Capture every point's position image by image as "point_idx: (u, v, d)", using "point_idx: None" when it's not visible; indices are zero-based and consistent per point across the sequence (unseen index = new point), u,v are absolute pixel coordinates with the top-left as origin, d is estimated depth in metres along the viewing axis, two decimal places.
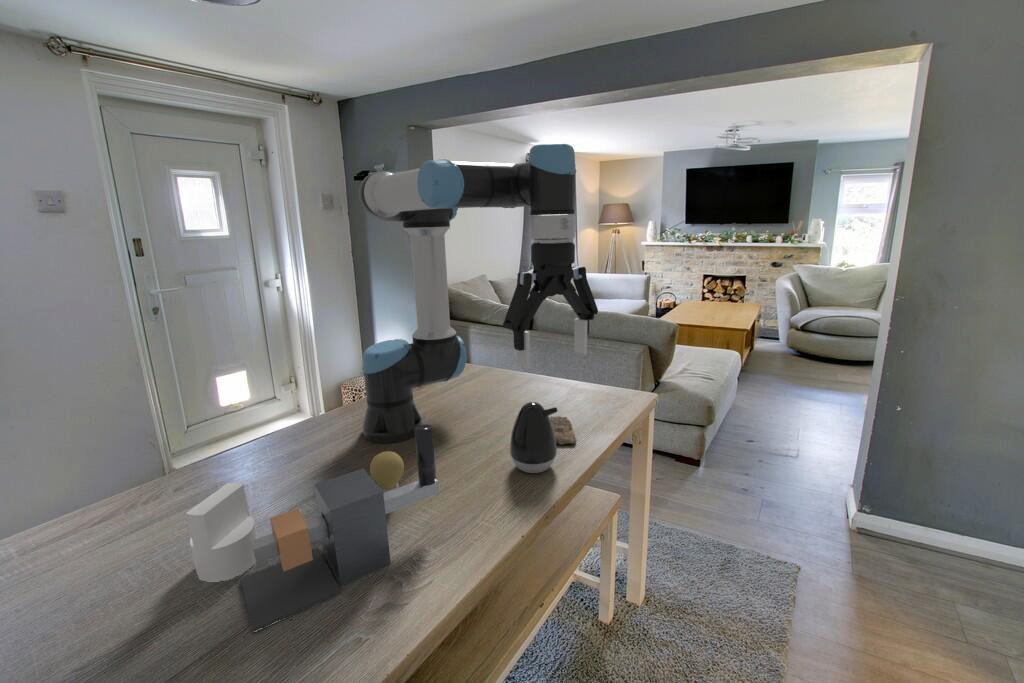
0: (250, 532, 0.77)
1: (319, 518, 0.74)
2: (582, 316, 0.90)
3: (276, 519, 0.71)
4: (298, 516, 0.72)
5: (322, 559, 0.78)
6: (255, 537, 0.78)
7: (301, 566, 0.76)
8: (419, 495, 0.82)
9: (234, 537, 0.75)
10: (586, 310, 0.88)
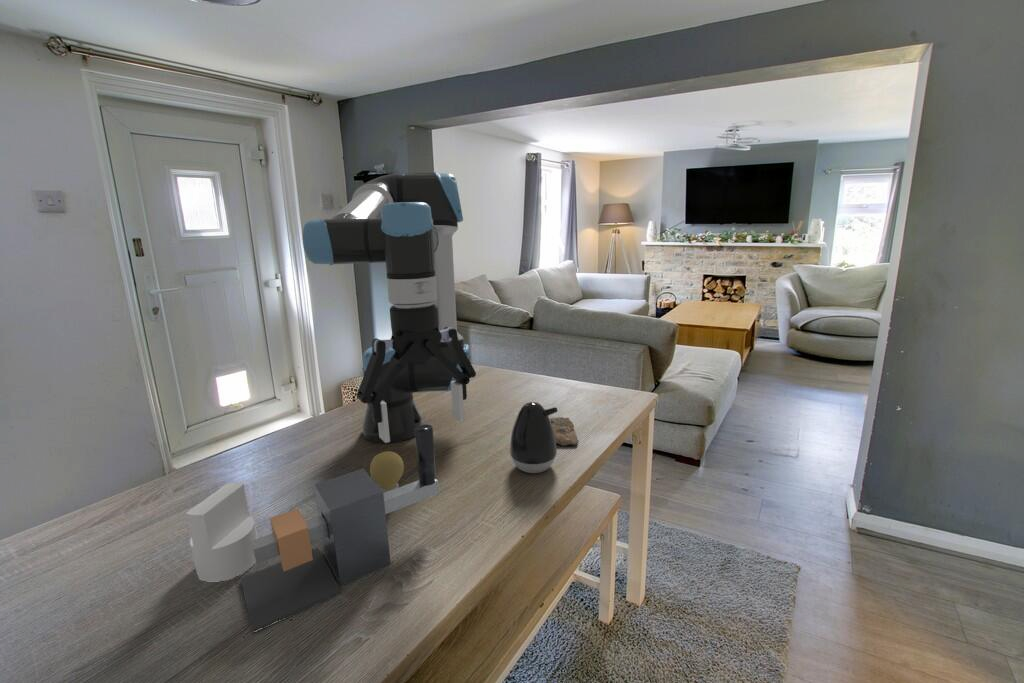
0: (250, 532, 0.77)
1: (319, 518, 0.74)
2: (458, 379, 0.83)
3: (276, 519, 0.71)
4: (298, 516, 0.72)
5: (322, 559, 0.78)
6: (255, 537, 0.78)
7: (301, 566, 0.76)
8: (419, 495, 0.82)
9: (234, 537, 0.75)
10: (460, 374, 0.82)
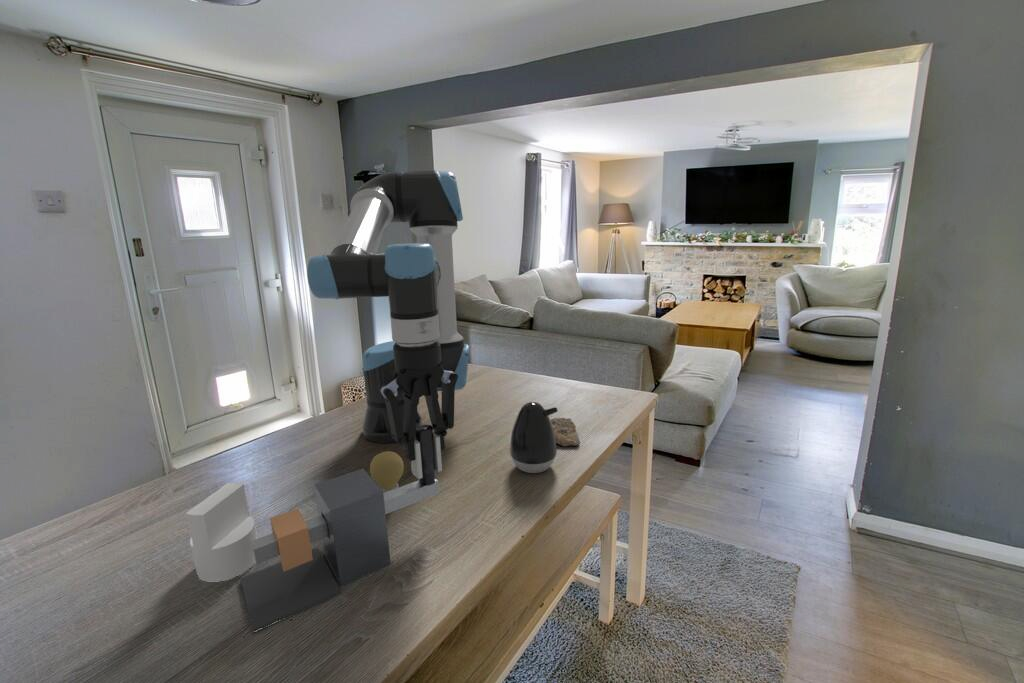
0: (250, 532, 0.77)
1: (319, 518, 0.74)
2: (435, 431, 0.83)
3: (276, 519, 0.71)
4: (298, 516, 0.72)
5: (322, 559, 0.78)
6: (255, 537, 0.78)
7: (301, 566, 0.76)
8: (419, 495, 0.82)
9: (234, 537, 0.75)
10: (441, 424, 0.82)
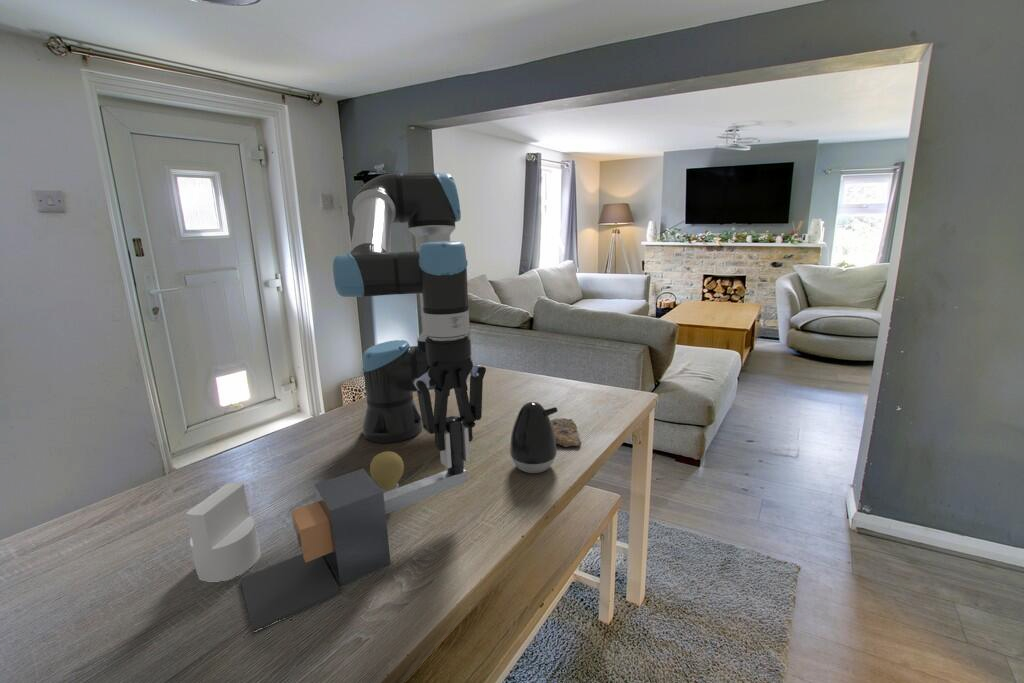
0: (250, 532, 0.77)
1: None
2: (464, 422, 0.86)
3: (297, 512, 0.73)
4: (319, 509, 0.74)
5: (322, 559, 0.78)
6: (255, 537, 0.78)
7: (301, 566, 0.76)
8: (448, 484, 0.85)
9: (234, 537, 0.75)
10: (470, 415, 0.85)
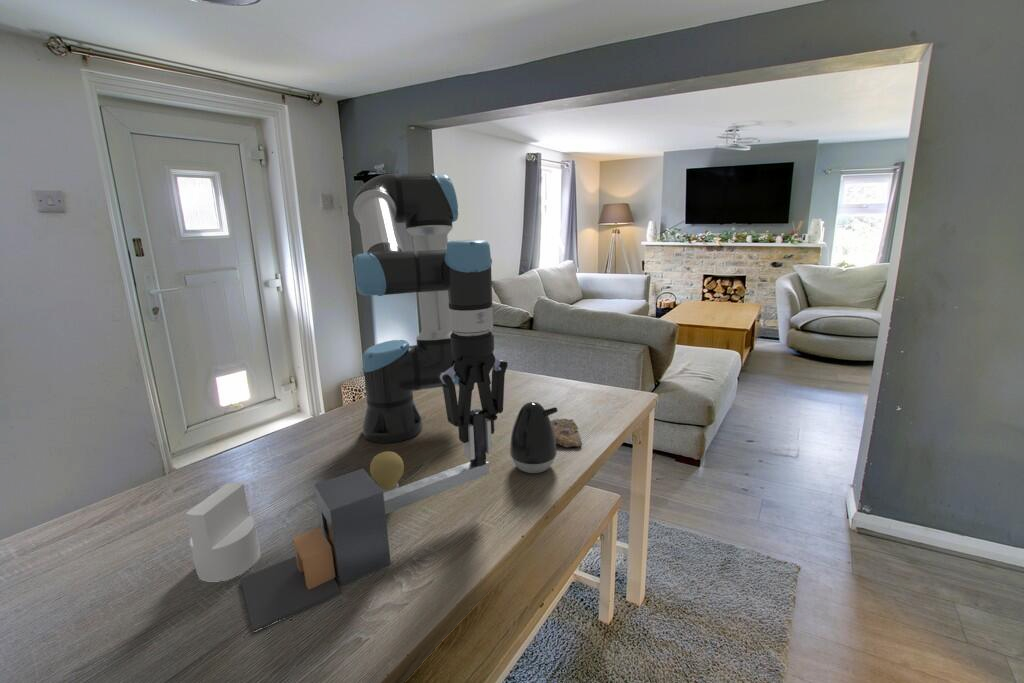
0: (250, 532, 0.77)
1: (384, 494, 0.80)
2: (486, 415, 0.88)
3: (299, 539, 0.74)
4: (320, 536, 0.75)
5: None
6: (255, 537, 0.78)
7: None
8: (471, 475, 0.88)
9: (234, 537, 0.75)
10: (492, 409, 0.88)
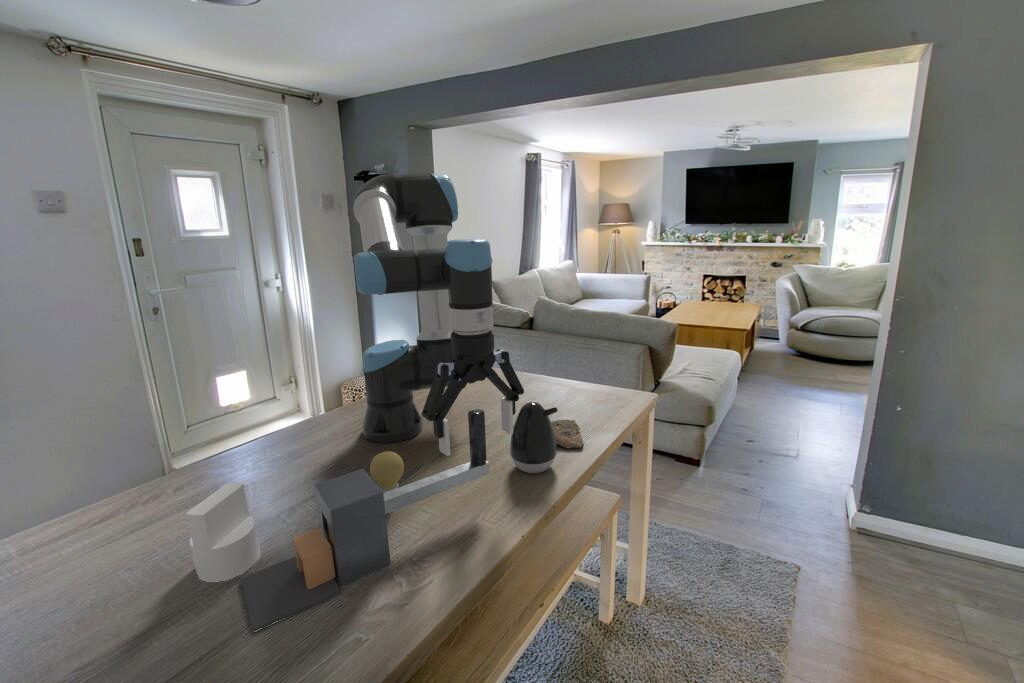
0: (250, 532, 0.77)
1: (384, 494, 0.80)
2: (508, 396, 0.91)
3: (299, 539, 0.74)
4: (320, 536, 0.75)
5: None
6: (255, 537, 0.78)
7: None
8: (472, 475, 0.88)
9: (234, 537, 0.75)
10: (511, 392, 0.89)
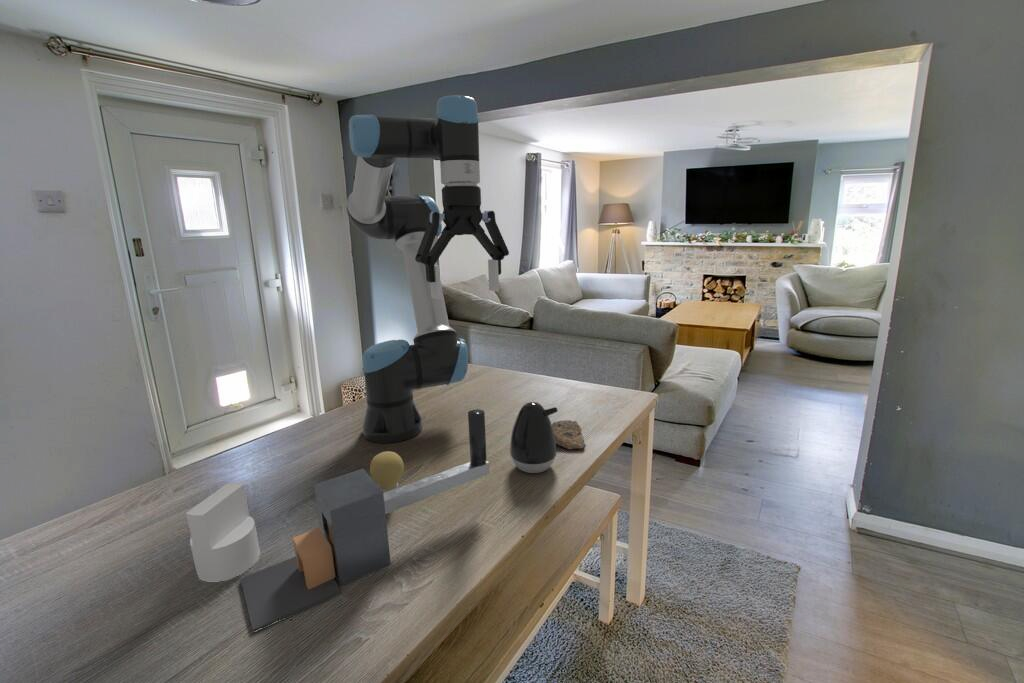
0: (250, 532, 0.77)
1: (384, 494, 0.80)
2: (494, 257, 1.00)
3: (299, 539, 0.74)
4: (320, 536, 0.75)
5: None
6: (255, 537, 0.78)
7: None
8: (472, 475, 0.88)
9: (234, 537, 0.75)
10: (496, 251, 0.99)
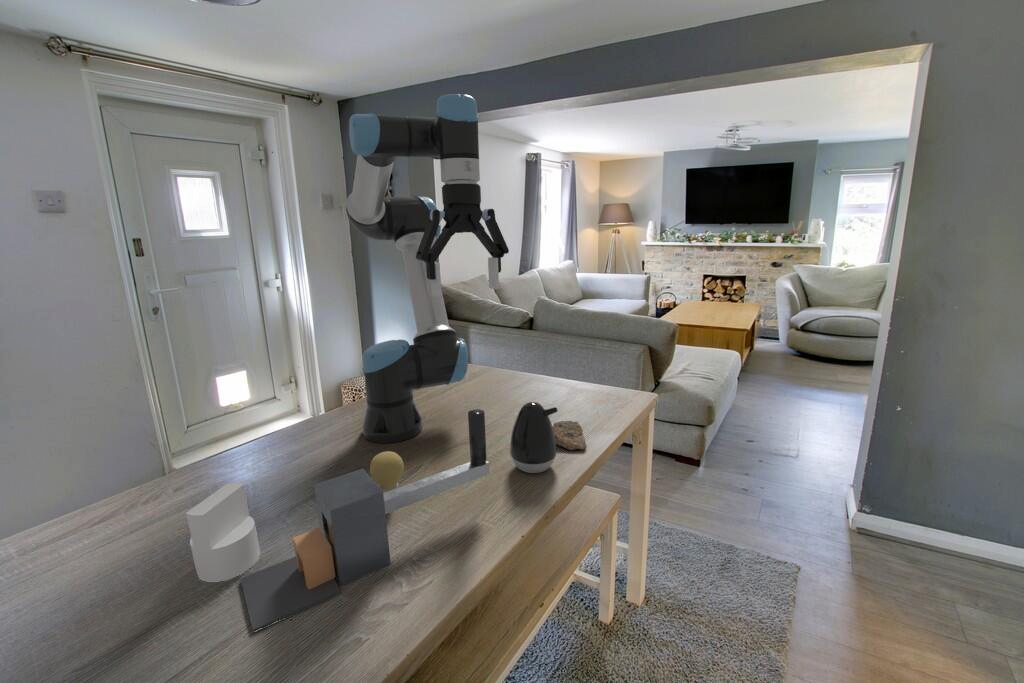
0: (250, 532, 0.77)
1: (384, 494, 0.80)
2: (494, 255, 1.01)
3: (299, 539, 0.74)
4: (320, 536, 0.75)
5: None
6: (255, 537, 0.78)
7: None
8: (472, 475, 0.88)
9: (234, 537, 0.75)
10: (496, 248, 0.99)
